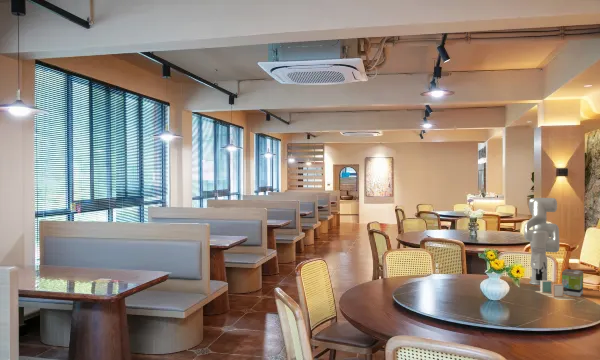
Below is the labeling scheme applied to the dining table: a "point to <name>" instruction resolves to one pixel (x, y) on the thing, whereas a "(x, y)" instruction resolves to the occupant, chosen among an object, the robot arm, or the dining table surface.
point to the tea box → (572, 282)
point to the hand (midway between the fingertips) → (538, 280)
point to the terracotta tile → (557, 290)
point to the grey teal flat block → (546, 286)
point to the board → (556, 297)
